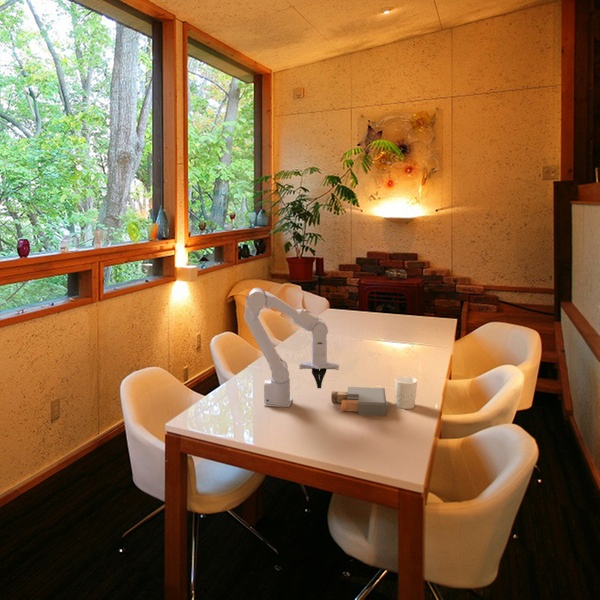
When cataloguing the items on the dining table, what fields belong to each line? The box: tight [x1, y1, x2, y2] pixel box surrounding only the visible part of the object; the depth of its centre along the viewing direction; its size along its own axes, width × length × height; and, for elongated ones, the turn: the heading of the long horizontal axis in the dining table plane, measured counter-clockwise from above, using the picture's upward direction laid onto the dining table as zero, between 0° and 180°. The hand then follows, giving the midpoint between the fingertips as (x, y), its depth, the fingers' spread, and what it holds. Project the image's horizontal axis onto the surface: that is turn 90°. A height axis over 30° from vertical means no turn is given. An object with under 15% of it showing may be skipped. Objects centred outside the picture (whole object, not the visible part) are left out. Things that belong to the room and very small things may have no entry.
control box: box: [347, 386, 387, 417], centre depth 188 cm, size 14×14×5 cm
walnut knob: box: [331, 390, 348, 403], centre depth 193 cm, size 11×4×4 cm, turn 83°
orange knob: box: [340, 400, 358, 412], centre depth 185 cm, size 11×4×4 cm, turn 83°
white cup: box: [394, 375, 418, 410], centre depth 189 cm, size 8×8×10 cm
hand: (319, 387), depth 194 cm, fingers closed
